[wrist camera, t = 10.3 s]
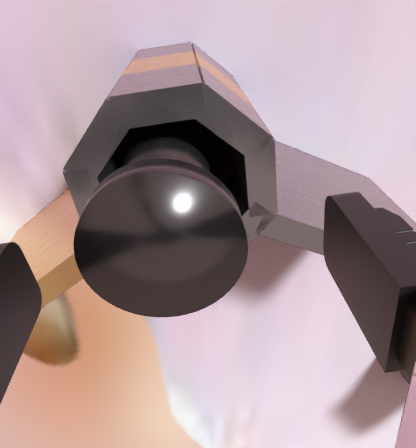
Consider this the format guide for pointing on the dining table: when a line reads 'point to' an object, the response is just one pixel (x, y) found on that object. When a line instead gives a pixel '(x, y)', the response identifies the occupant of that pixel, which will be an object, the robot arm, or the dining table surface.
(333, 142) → the dining table surface
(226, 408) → the dining table surface
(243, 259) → the hinge pin
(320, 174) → the hinge
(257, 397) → the dining table surface
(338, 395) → the dining table surface
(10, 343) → the robot arm
